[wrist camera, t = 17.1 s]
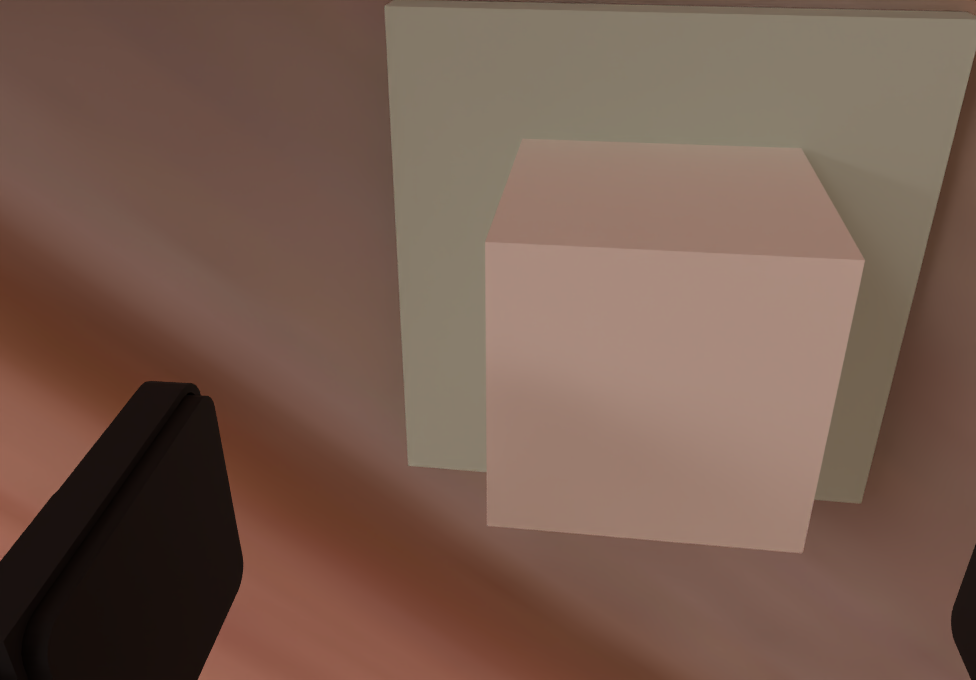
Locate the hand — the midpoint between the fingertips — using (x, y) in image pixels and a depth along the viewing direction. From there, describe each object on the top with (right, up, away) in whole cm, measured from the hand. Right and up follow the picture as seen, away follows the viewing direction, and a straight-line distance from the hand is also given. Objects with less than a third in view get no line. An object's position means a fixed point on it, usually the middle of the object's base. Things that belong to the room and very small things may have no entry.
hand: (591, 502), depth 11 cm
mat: (+2, +4, +8) cm, 9 cm away
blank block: (+2, +3, +7) cm, 8 cm away
